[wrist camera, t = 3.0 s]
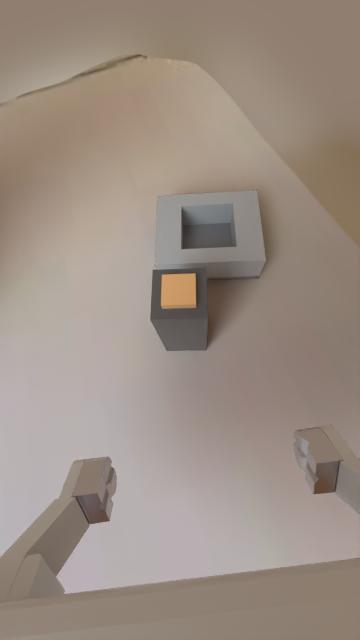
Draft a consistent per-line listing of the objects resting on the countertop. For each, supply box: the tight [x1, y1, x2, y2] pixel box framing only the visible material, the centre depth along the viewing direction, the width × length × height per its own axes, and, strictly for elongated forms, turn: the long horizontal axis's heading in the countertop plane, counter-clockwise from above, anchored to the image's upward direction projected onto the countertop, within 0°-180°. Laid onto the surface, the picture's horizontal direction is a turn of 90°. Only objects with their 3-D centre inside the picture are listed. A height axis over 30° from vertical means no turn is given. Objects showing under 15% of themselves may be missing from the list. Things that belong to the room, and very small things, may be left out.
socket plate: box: [154, 190, 266, 280], centre depth 29 cm, size 11×9×4 cm
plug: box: [150, 268, 208, 351], centre depth 22 cm, size 4×4×10 cm
